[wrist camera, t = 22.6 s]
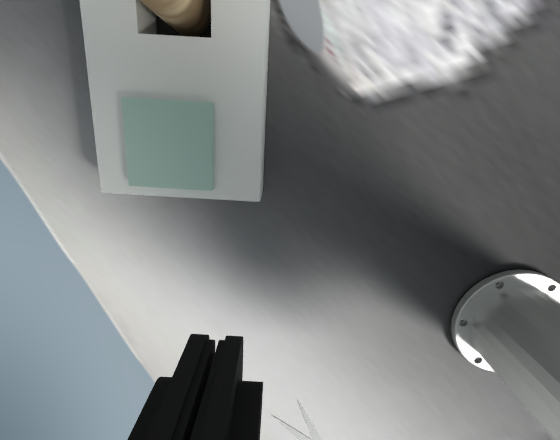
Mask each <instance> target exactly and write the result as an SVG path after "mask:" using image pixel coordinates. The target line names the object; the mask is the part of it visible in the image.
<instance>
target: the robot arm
mask: <svg viewBox="0 0 560 440" xmlns="http://www.w3.org/2000/svg"><path fill="white" fill-rule="evenodd" d="M451 334H452V339H453V341H454V344H455V346H456V347H457V349H458V350H459V352H460V353H461V354H462V355H463V356H464V358H465V359H466V360H467V361H469V362H470V363H471V364H473V365H474V366H477V367H479V368H481V369H484V370H488V371H493V372H495V373H496V374H497V375H498V376H499V377H500V379H501V380H502V381H503V382H504V383H505V385H506V386H507V387H508V388H509V389H510V390H511V392H512V393H513V394H514V395H515V396H516V398H517V399H518V400H519V401H520V402H521V404H522V405H523V406H524V407H525V408H526V409H527V411H528V412H529V413H530V414H531V415H532V417H533V418H534V419H535V420H536V421H537V422H538V424H539V425H540V426H541V427H542V428H543V430H544V431H545V432H546V433H547V434H548V435H549V437H550V438H551V439H552V440H560V284H559V283H557V282H556V281H554V280H553V279H551V278H550V277H548V276H546V275H544V274H541V273H539V272H535V271H531V270H519V269H518V270H509V271H504V272H500V273H497V274H494V275H492V276H490V277H487V278H485V279H483V280H482V281H480V282H479V283H477V284H476V285H474V286H473V287H472V288H471V289H470V290H469V291H468V292H467V293H466V294H465V295H464V296H463V297H462V299H461V300H460V301H459V303H458V305H457V307H456V309H455V310H454V314H453V317H452V320H451ZM242 372H243V337H240V336H226V338H225V340H219V342H218V346H217V349H216V352H215V340H209V335H202V334H191V335H190V337H189V340H188V342H187V344H186V347H185V349H184V351H183V353H182V356H181V358H180V360H179V363H178V365H177V367H176V370H175V372H174V374H173V377H159V378H158V379H157V381H156V383H155V385H154V387H153V389H152V391H151V393H150V395H149V397H148V399H147V401H146V403H145V405H144V407H143V409H142V411H141V413H140V415H139V417H138V420H137V421H136V424H135V425H134V428H133V430H132V432H131V434H130V436H129V438H128V440H260V427H261V411H262V392H263V382H252V381H242Z"/></svg>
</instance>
